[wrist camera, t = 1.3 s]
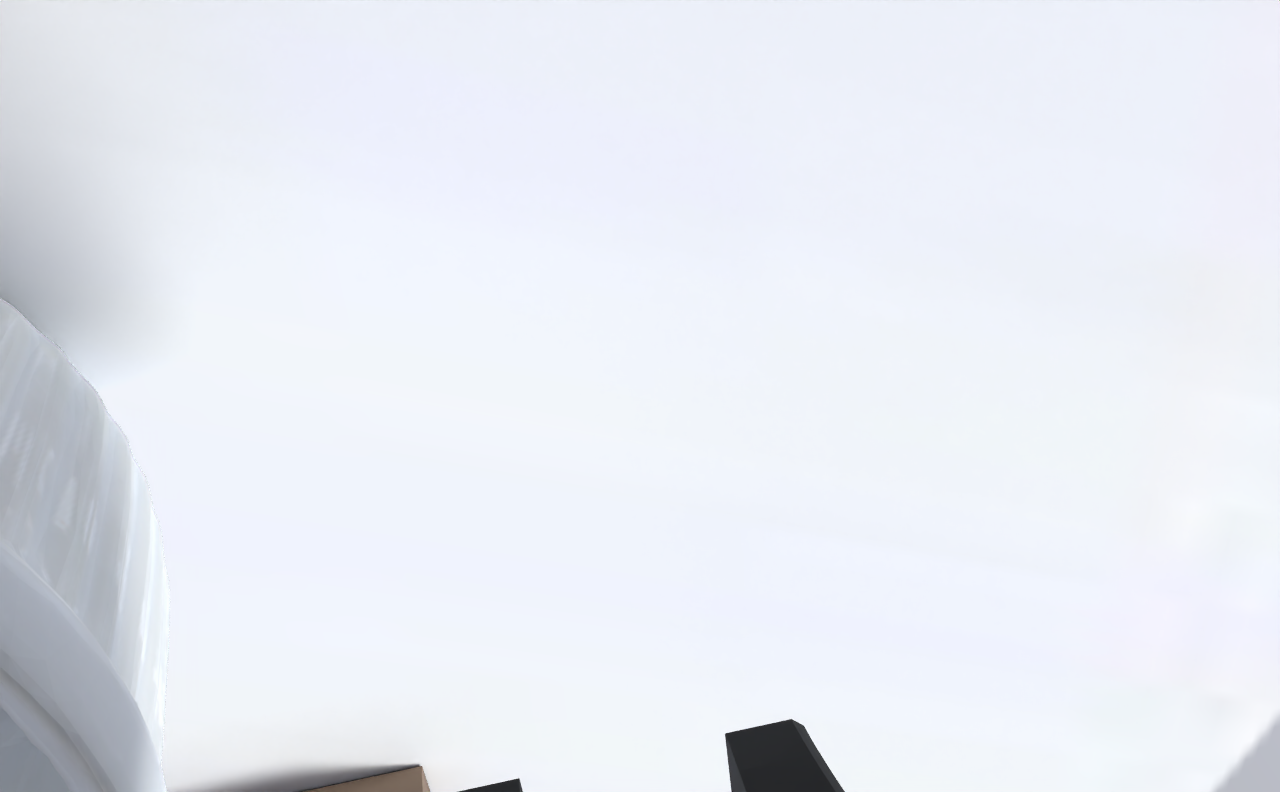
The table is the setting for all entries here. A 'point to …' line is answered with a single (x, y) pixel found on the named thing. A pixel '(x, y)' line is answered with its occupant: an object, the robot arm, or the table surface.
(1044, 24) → the table surface
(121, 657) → the ramekin
